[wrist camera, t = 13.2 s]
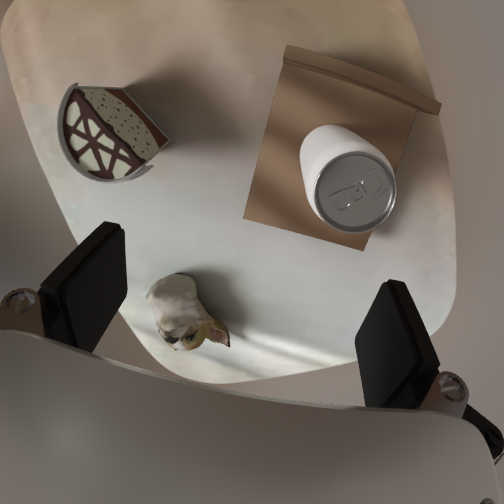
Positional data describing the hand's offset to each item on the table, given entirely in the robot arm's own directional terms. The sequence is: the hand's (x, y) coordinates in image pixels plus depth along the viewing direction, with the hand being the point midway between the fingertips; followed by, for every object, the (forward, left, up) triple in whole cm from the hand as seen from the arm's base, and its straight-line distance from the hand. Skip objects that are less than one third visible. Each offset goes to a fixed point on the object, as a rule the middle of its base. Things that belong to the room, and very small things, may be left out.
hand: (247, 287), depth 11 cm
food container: (+2, -17, -26) cm, 32 cm away
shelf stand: (-1, +6, -26) cm, 27 cm away
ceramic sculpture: (+25, -6, -27) cm, 37 cm away
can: (-2, +6, -22) cm, 23 cm away
